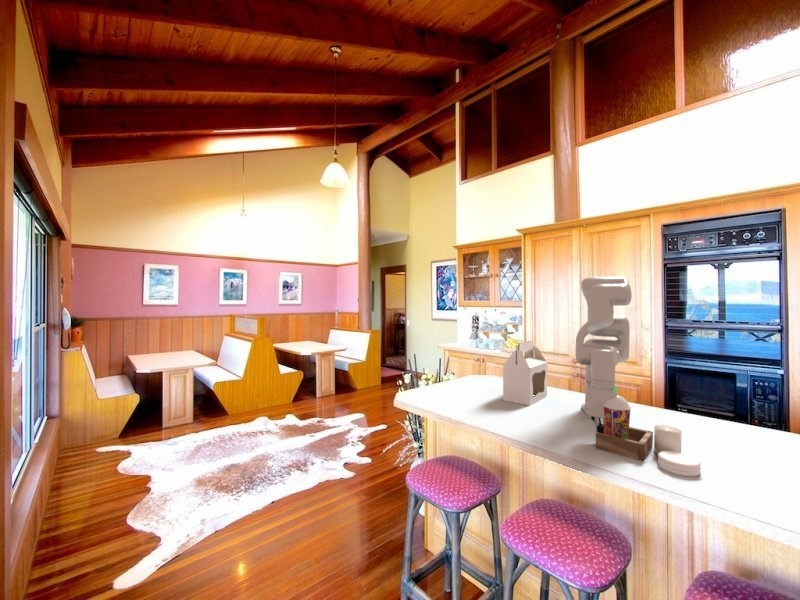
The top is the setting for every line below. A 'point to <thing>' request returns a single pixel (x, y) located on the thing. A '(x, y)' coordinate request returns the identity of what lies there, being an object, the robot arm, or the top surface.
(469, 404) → the top surface
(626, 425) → the smoothie
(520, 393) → the gable box
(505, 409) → the top surface
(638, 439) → the u rest
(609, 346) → the robot arm
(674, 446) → the beige cylinder
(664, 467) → the coaster
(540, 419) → the top surface
